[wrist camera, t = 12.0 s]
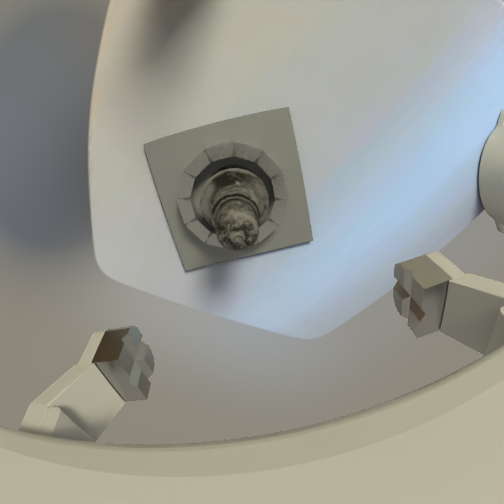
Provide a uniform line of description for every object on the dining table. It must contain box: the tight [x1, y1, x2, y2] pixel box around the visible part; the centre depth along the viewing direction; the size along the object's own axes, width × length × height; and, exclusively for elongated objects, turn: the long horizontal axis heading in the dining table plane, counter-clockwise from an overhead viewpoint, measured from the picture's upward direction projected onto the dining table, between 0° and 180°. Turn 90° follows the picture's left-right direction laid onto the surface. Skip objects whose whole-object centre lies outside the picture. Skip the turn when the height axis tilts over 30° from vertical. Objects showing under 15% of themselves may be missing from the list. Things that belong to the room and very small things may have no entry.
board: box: [144, 107, 313, 271], centre depth 29 cm, size 14×14×1 cm
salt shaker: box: [200, 165, 269, 252], centre depth 23 cm, size 6×6×12 cm
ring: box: [177, 141, 288, 248], centre depth 27 cm, size 10×10×2 cm
